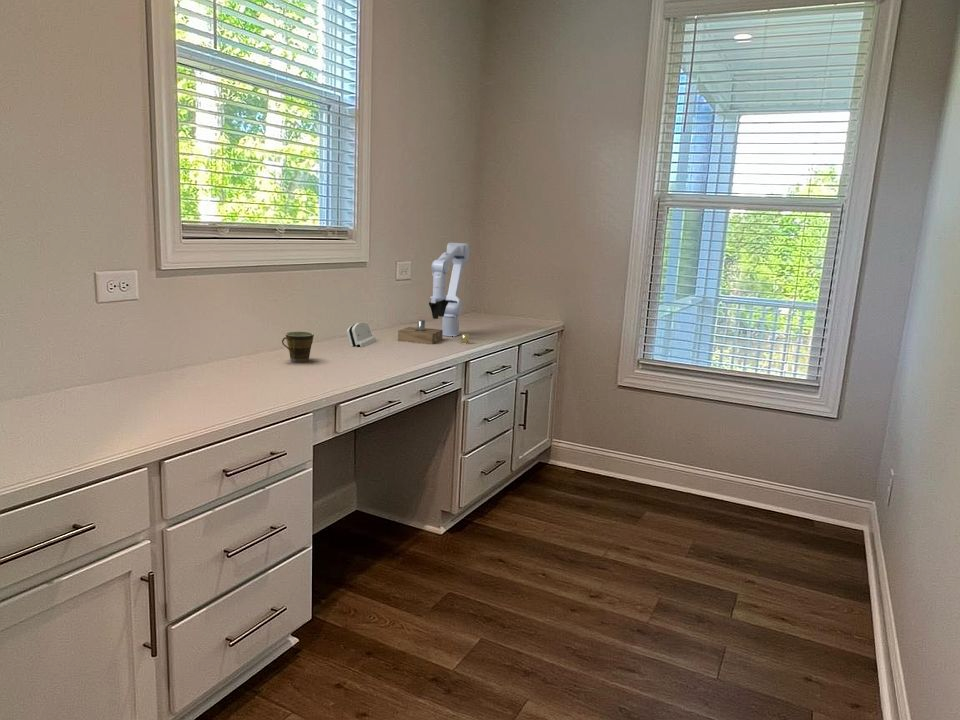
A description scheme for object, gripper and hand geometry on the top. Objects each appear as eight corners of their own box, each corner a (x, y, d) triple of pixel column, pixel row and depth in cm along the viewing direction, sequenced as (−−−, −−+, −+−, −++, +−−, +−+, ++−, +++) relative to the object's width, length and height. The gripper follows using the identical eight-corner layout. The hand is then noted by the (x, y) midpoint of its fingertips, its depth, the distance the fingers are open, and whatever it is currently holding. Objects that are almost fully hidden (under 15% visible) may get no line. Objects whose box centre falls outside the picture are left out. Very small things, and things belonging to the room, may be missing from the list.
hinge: (361, 347, 286) (354, 324, 285) (351, 350, 287) (344, 327, 286) (376, 341, 302) (369, 319, 301) (367, 343, 303) (360, 322, 302)
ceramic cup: (301, 356, 262) (301, 330, 260) (319, 360, 257) (319, 334, 255) (273, 361, 252) (273, 334, 250) (291, 365, 246) (291, 338, 244)
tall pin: (418, 339, 311) (419, 319, 310) (425, 340, 311) (425, 320, 309) (416, 340, 308) (416, 320, 307) (422, 341, 308) (423, 321, 306)
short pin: (462, 342, 309) (463, 333, 308) (469, 343, 308) (469, 334, 307) (460, 343, 306) (460, 334, 305) (467, 344, 305) (467, 335, 304)
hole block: (409, 336, 318) (409, 326, 317) (442, 339, 314) (442, 329, 313) (397, 340, 305) (398, 330, 304) (431, 344, 301) (432, 334, 300)
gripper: (436, 285, 314) (435, 314, 317) (425, 287, 301) (424, 318, 304) (451, 286, 313) (450, 316, 315) (440, 289, 299) (439, 320, 302)
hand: (438, 317), depth 309 cm, fingers open, 7 cm apart
